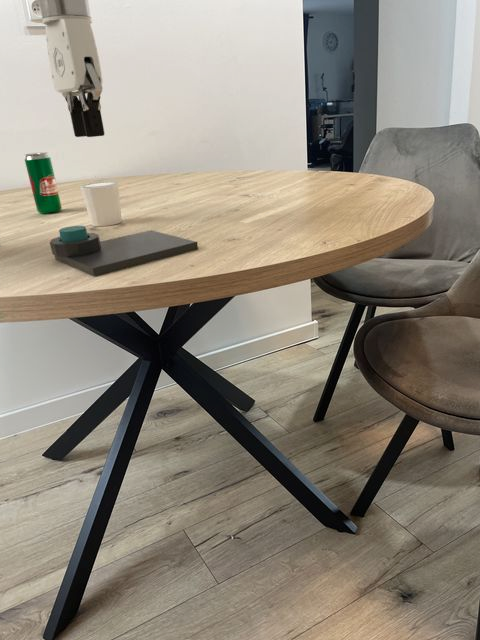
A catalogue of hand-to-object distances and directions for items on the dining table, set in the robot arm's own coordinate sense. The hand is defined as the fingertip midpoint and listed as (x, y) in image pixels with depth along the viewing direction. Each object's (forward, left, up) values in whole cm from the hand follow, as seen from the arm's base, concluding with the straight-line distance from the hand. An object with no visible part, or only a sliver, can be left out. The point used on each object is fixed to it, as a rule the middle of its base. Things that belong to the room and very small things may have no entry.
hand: (89, 135), depth 90 cm
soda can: (-2, +23, -15) cm, 28 cm away
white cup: (0, 0, -15) cm, 15 cm away
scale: (-9, -25, -15) cm, 31 cm away
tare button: (-14, -21, -13) cm, 28 cm away
